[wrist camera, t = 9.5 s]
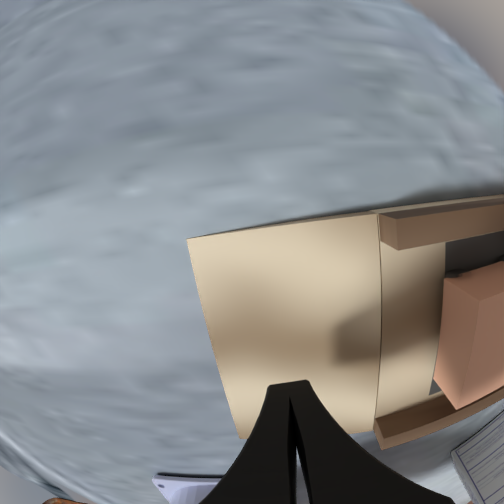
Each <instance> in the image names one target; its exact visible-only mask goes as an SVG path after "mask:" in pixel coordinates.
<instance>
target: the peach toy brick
mask: <svg viewBox="0 0 504 504" xmlns="http://www.w3.org/2000/svg"><path fill="white" fill-rule="evenodd" d="M433 379H434V380H435V382H436V383H437V384H438V386H439V387H440V388H441V390H442V391H443V392H444V394H445V395H446V397H447V398H448V399H449V401H450V402H451V403H452V405H453V406H454V407H455V409H456V410H457V409H459V408H461V407H464V406H466V405H468V404H470V403H472V402H474V401H476V400H478V399H480V398H482V397H483V396H485V395H487V394H489V393H491V392H493V391H494V390H496V389H498V388H500V387H501V386H503V385H504V255H501V256H499V261H498V262H497V263H494V264H491V265H488V266H485V267H481V268H478V269H475V270H472V271H468V270H464V269H453V270H449V271H447V272H446V273H445V278H444V287H443V305H442V318H441V328H440V337H439V345H438V352H437V359H436V365H435V371H434V377H433Z"/></svg>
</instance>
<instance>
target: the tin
mask: <svg viewBox="0 0 504 504" xmlns="http://www.w3.org/2000/svg"><path fill="white" fill-rule="evenodd" d="M43 504H86V503H80V502H75V501H70V500H66V499H62V498H52V499H49V500H47V501H45V502H44V503H43Z"/></svg>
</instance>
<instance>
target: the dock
mask: <svg viewBox="0 0 504 504" xmlns="http://www.w3.org/2000/svg"><path fill="white" fill-rule="evenodd" d="M187 244H188V249H189V253H190V258H191V262H192V267H193V271H194V276H195V280H196V284H197V288H198V293H199V297H200V301H201V305H202V309H203V313H204V317H205V321H206V325H207V329H208V332H209V336H210V340H211V344H212V348H213V351H214V355H215V358H216V362H217V366H218V369H219V373H220V376H221V380H222V383H223V386H224V390H225V393H226V397H227V400H228V403H229V406H230V410H231V413H232V416H233V419H234V422H235V426H236V429H237V432H238V435H239V438H240V439H248V438H249V436H250V434H251V432H252V430H253V428H254V425H255V423H256V421H257V418H258V416H259V414H260V411H261V408H262V406H263V402H264V399H265V396H266V391H267V387H268V386H269V385H272V384H279V383H286V382H293V381H299V380H305V379H306V380H308V381H310V384H311V386H312V388H313V390H314V391H315V393H316V395H317V396H318V398H319V399H320V401H321V402H322V404H323V405H324V407H325V408H326V409H327V411H328V412H329V413H330V414H331V416H332V417H333V418H334V419H335V420H336V422H337V423H338V424H339V425H340V426H341V427H342V428H343V429H344V430H345V431H346V433H347V434H353V433H360V432H367V431H373V430H374V433H375V435H376V438H377V440H378V443H379V445H380V448H381V450H384V449H388V448H391V447H394V446H397V445H400V444H403V443H406V442H409V441H412V440H415V439H418V438H420V437H423V436H426V435H428V434H431V433H433V432H436V431H438V430H441V429H443V428H445V427H448V426H450V425H452V424H454V423H457V422H459V421H461V420H463V419H465V418H467V417H469V416H471V415H473V414H475V413H477V412H479V411H481V410H483V409H485V408H487V407H489V406H491V405H492V404H494V403H496V402H498V401H499V400H501V399H503V398H504V385H503V386H501V387H500V388H498V389H496V390H494V391H493V392H491V393H489V394H487V395H485V396H483V397H482V398H480V399H478V400H476V401H474V402H472V403H470V404H468V405H466V406H464V407H461V408H459V409H457V410H456V409H455V407H454V406H453V405H452V403H451V402H450V401H449V399H448V398H447V397H446V395H445V394H444V392H443V391H442V390H441V388H440V387H439V386H438V384H437V383H436V382H435V380H434V379H433V377H434V371H435V365H436V359H437V352H438V345H439V337H440V328H441V318H442V305H443V287H444V278H445V273H446V272H447V271H449V270H453V269H464V270H468V271H472V270H475V269H478V268H481V267H485V266H488V265H491V264H494V263H497V262H498V261H499V256H501V255H504V194H500V195H491V196H481V197H472V198H464V199H455V200H446V201H438V202H430V203H422V204H414V205H406V206H399V207H391V208H384V209H376V210H369V211H367V212H358V213H350V214H341V215H333V216H325V217H319V218H312V219H305V220H299V221H292V222H286V223H280V224H273V225H267V226H261V227H254V228H248V229H242V230H236V231H230V232H224V233H218V234H212V235H207V236H201V237H195V238H189V239H187Z"/></svg>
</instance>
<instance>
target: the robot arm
mask: <svg viewBox="0 0 504 504" xmlns="http://www.w3.org/2000/svg"><path fill="white" fill-rule="evenodd" d="M296 446H297V450H298V455H299V459H300V463H301V467H302V472H303V476H304V480H305V484H306V488H307V492H308V497H309V503H310V504H455V503H454V501H453V500H452V499H451V498H450V497H447V496H444V495H442V494H439V493H436V492H434V491H431V490H429V489H427V488H425V487H422V486H420V485H418V484H416V483H414V482H412V481H410V480H408V479H407V478H405V477H403V476H401V475H400V474H398V473H397V472H395V471H393V470H392V469H390V468H389V467H387V466H386V465H384V464H383V463H381V462H380V461H378V460H377V459H376V458H375V457H373V456H372V455H371V454H369V453H368V452H367V451H366V450H365V449H363V448H362V447H361V446H360V445H359V444H358V443H357V442H356V441H354V440H353V439H352V438H351V437H350V436H349V435H348V434H347V433H346V431H345V430H344V429H343V428H342V427H341V426H340V425H339V424H338V423H337V422H336V420H335V419H334V418H333V417H332V416H331V414H330V413H329V412H328V411H327V409H326V408H325V407H324V405H323V404H322V402H321V401H320V399H319V398H318V396H317V395H316V393H315V391H314V390H313V388H312V386H311V384H310V381H308V380H306V379H305V380H299V381H293V382H286V383H279V384H272V385H269V386H268V387H267V391H266V396H265V399H264V402H263V406H262V408H261V411H260V414H259V416H258V418H257V421H256V423H255V425H254V428H253V430H252V432H251V434H250V436H249V438H248V439H247V441H246V443H245V445H244V447H243V449H242V450H241V452H240V454H239V455H238V457H237V458H236V460H235V461H234V463H233V464H232V466H231V467H230V468H229V470H228V471H227V473H226V474H225V475H224V476H223V478H185V477H171V476H160V475H155V476H153V478H152V482H153V483H154V484H155V485H156V487H157V488H158V489H159V490H160V492H161V493H162V494H163V495H164V497H165V498H166V499H167V500H168V501H169V503H170V504H296V467H297V459H296Z"/></svg>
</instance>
